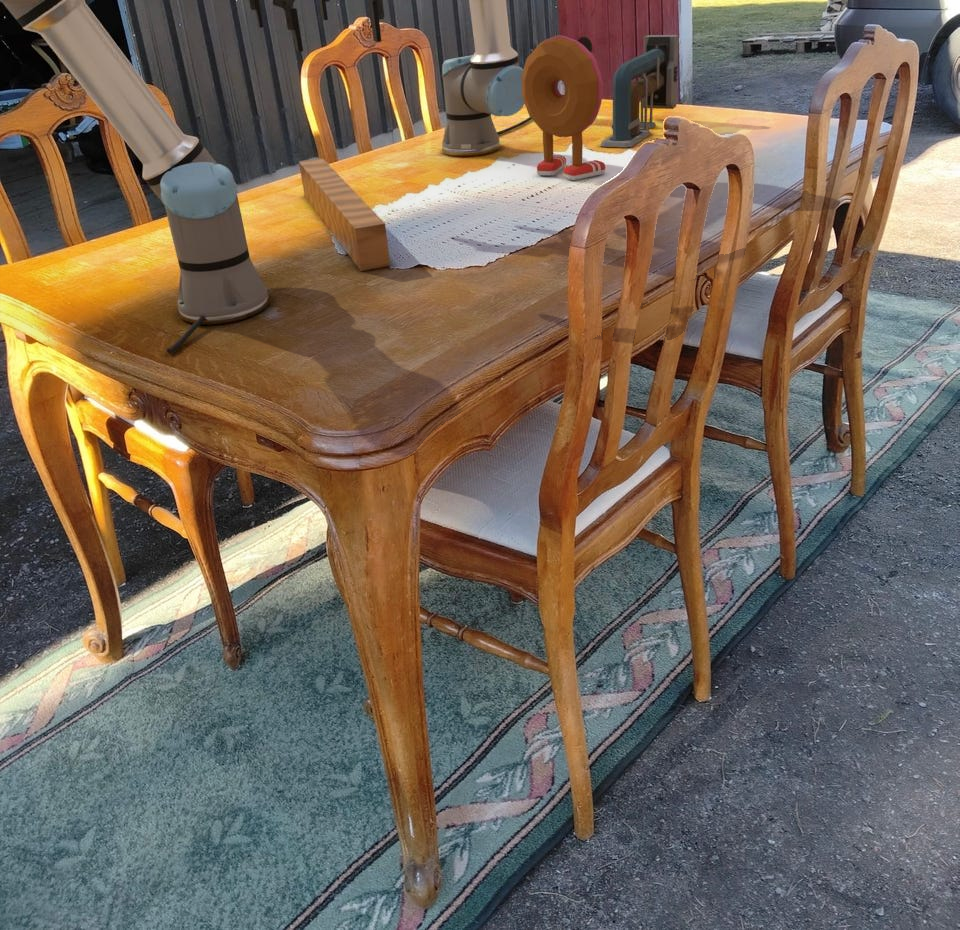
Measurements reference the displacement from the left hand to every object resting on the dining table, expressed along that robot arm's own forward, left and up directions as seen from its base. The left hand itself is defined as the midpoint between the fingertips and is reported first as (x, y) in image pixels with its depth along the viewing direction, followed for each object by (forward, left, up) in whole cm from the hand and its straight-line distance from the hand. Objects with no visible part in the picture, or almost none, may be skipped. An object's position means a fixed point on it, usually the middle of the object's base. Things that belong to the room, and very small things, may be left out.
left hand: (339, 46), depth 165 cm
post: (+19, +14, -38) cm, 44 cm away
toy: (+61, -26, -38) cm, 76 cm away
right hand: (+37, +27, 0) cm, 46 cm away
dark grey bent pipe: (+104, -36, -38) cm, 116 cm away
